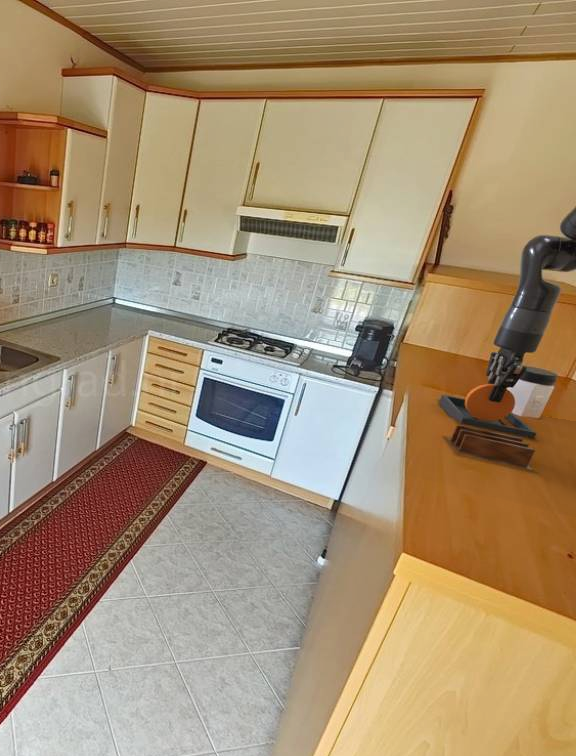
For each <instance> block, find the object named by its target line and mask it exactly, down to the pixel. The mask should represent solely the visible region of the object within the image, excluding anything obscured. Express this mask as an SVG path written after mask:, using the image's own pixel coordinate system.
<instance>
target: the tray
mask: <svg viewBox="0 0 576 756" xmlns="http://www.w3.org/2000/svg"><path fill="white" fill-rule="evenodd" d="M465 399H466V398H462V397H456V396H452V395H446V394H441V395H440V399H439V401H438V405H439V406H440V407H441V408H442V410H443V411H444V412H445V413H446V414H447V416H448V417H449V418H450V419H454V420H457V421H458V423H459V424H460V425H465V426H466V425H467V426H469V427H474V428H475V427H476V428H479V429H484V430H488V431H489V430H490V431H493V432H498V433H502V434H507V435H512V436H517V437H518V436H519V437H521V438H528V439H532V440H535V438H536V436H537V435H538V434H537V432H536V431H535V430H533V429H532V427H530V426H529V425H528V424H526V423H525V422H524V421H523V420H522V419H521V418H520V417H518V415H516V414H513V413H512V412H511V413H510V414H509V415H508V416H506V417H505V420H507V421H508V422H509V423H510V424H511V425H512V426H510V425H506V423H504V422H503V421H502V419H500V420H496V421H482V420H479V419H477V418H475V417H473V416H472V415H471V414H470V413H469V412H468V411H467V409H466V407H465Z"/></svg>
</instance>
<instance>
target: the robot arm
mask: <svg viewBox="0 0 576 756" xmlns="http://www.w3.org/2000/svg"><path fill="white" fill-rule="evenodd" d="M559 230H560V233H562V235H563V236H560V235H549V234H540V235H537V236H534V237H533V238H531V239H530V240H529V241H528V242H527V243H526V244H525V245H524V246H523V248H522V250H521V254H520V263H519V264H520V267H519V279H518V285H517V289H516V291H515V293H514V296H513V298H512V301H511V304H510V305H509V307H508V309H507V311H506V312H505V314H504V316H503V319H502V321H501V323H500V326H499V328H498V329H497V333H496V335H495V338H494V340H493V345H494V346H495V347H498V348H499V349H498V351H497V352H494V351H492V352H490V357H489V361H488V365H487V369H486V370H487V371H486V374H485V375H486V377H487V381H488V382H487V384H495V385H494V387H493V389H492V391H491V393H490V396H489V398H488V399H489V400H490V401H493V402H501V400H502V398H503V396H504V393H505V391H506V389H507V388H509V387H511V388H513V387H514V386H515V384H516V383H517V382H518V380H519V379H520V378H521V376H522V375H523V374H524V372H525V371H526V369H527V367H525V366H526V365H523V363H524V357H525V354H533V353H535V352H536V351H537V350H538V347H539V346H540V343H541V340H542V339H543V336H544V334H545V332H546V330H547V328H548V326H549V323H550V320H551V317H552V313H553V311H554V310H555V309H554V308H555V307H556V304H557V302H558V301H559V298H560V296H561V293H562V286H561V285H559V284H557V283H555V282H551V281H548V280H545V279H544V276H543V271H552V272H559V273H560V272H561V273H570V272H574V271H576V205H575V206H574V207H573V208H572V209H571V210H570V211H569V212H568V213H567V214H566V216H564V218H562V220H561V222H560V225H559ZM522 365H523V366H522Z"/></svg>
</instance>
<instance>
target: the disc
mask: <svg viewBox="0 0 576 756" xmlns="http://www.w3.org/2000/svg"><path fill="white" fill-rule="evenodd" d="M494 385H495V384H488V383H483V384H480V385H477V386H475V387H474V388H472V389H470V391H469V392H468V393H467V395H466V396H465V398H464V399H465V407H466V409H467V411H468V412H469V413H470V414H471V415H472V416H473V417H475V418H477V419H479V420H482V421H496V420H503V419H504V418H505V417H506V416H508V415H509V414H510V413H511V412H512V410H513V409H514V406H515V398H514V396H513V394H512V393H511V392H510V391H509V390H508V389H506V391H505V393H504V396H503V398H502V400H501V402H493V401H490V400H489V399H488V398H489V396H490V393H491V391H492V389H493V387H494ZM505 419H506V418H505Z"/></svg>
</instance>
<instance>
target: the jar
mask: <svg viewBox="0 0 576 756" xmlns="http://www.w3.org/2000/svg"><path fill="white" fill-rule="evenodd" d="M522 366H525V367H527V369H526V371H525V372H524V374H523V375H522V376H521V378H520V379H519V380H518V382H517V383H516V384H515V386H514V387H513V388H511V387H509V388H507V389H508V390H509V391H510V392H511V393H512V394H513V396H514V398H515V406H514V409H513V410H512V413H513V414H515V415H516V416H519V417H525V418H534V419H540V418H541V416H542V414H543V412H544V410H545V408H546V405H547V404H548V401H549V400H550V397H551V395H552V393H553V391H554V389H555V386H554V385H555V383H556V382H557V380H558V377H559V375H558V374H557V373H556V372H553V371H551V370H547V369H543V368H541V367H540V368H539V367H534V366H529V365H523V364H522Z"/></svg>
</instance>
